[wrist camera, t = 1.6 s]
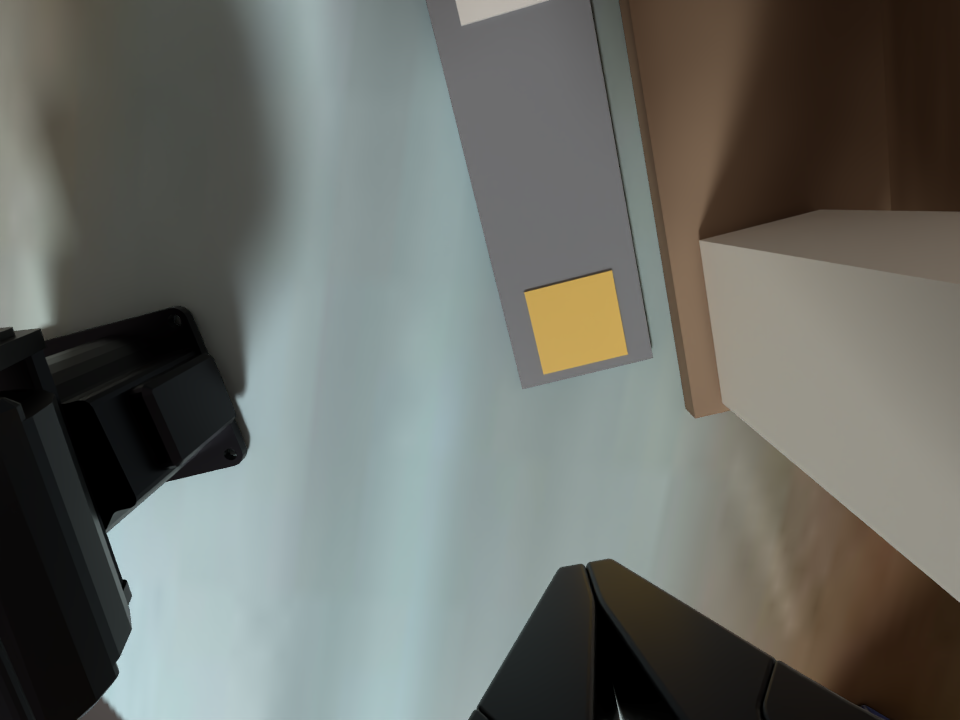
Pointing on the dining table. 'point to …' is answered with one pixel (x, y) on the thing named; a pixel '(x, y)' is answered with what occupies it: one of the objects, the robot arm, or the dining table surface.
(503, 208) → the pattern card
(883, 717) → the supplement box
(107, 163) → the dining table surface
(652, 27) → the key panel
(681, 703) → the robot arm
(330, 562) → the dining table surface
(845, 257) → the grey lidded cream box
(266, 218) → the dining table surface
